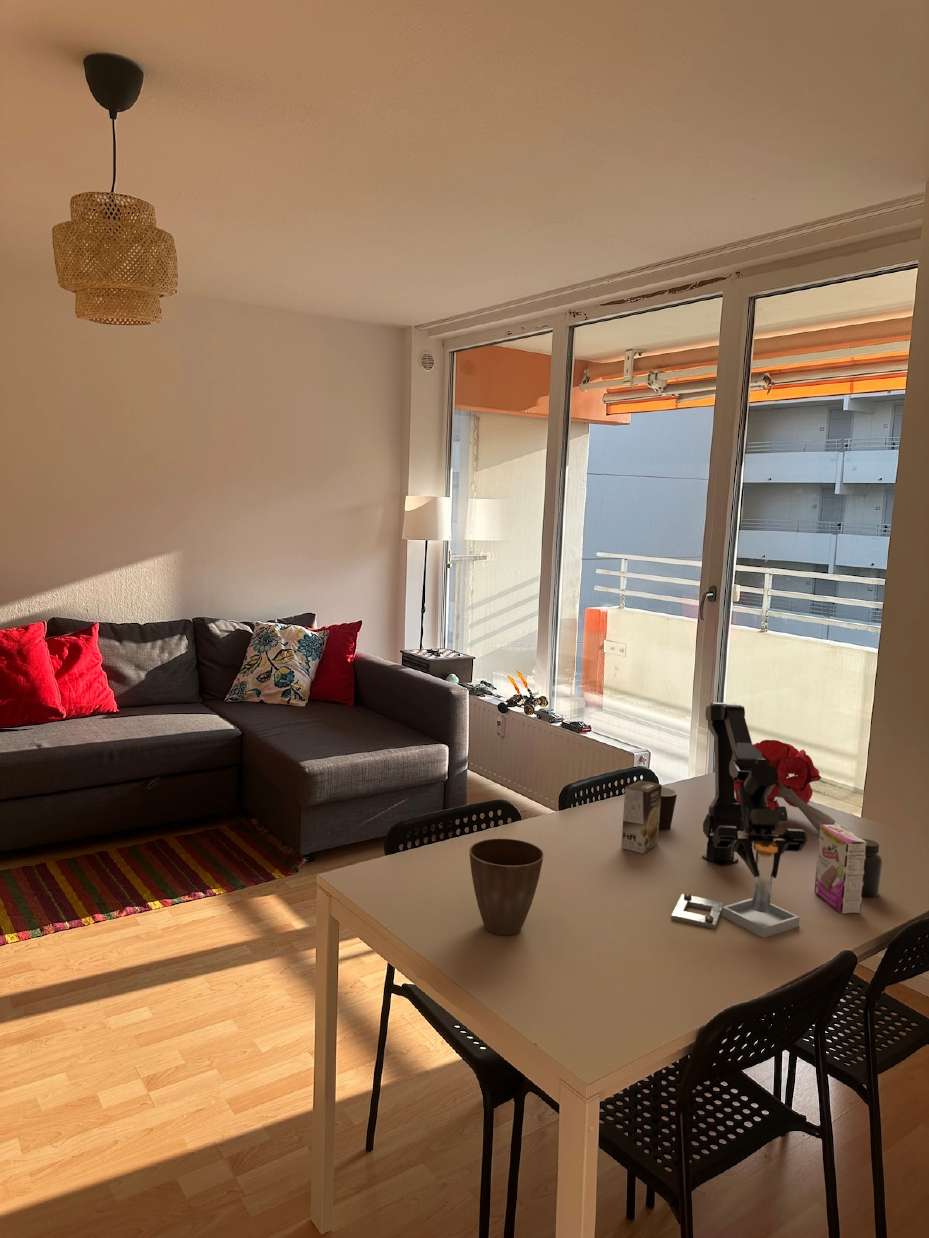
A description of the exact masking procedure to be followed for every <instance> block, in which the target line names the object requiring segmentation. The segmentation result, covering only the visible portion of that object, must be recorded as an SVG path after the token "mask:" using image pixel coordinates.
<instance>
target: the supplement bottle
mask: <svg viewBox="0 0 929 1238" xmlns="http://www.w3.org/2000/svg"><path fill="white" fill-rule="evenodd" d="M861 839H862V840H864V841H866V842H867V847H866V858H865V869H864V880H863V891H862V898H869V899H871V898H872V899H873V898H876V897H877V896H878V895H879V892H880V886H881V885H880V884H881V875H882V869H883V868H882V867H883V859H882V857H881V856H880V854H879V852H880V844H879V842H877V841H876V840H873V839H869V838H861Z"/></svg>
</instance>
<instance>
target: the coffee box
mask: <svg viewBox="0 0 929 1238" xmlns="http://www.w3.org/2000/svg"><path fill="white" fill-rule="evenodd" d="M662 787H663V785H662V784H660V783H656V782H651V781H646V780H645V781H644V780H641V779H639V780H637V781H636V782H634V783H631V784H629V785H627V786H624V802H623V817H622V830H621V844H620V845H621V849H624V850H628V851H631V852H636V853H638V854H645V853H647V852H648V851H649V850H651V849H652V848H654V847H655V846H657V845H658V843H659V832H660V830H659V818H660V804H661V789H662Z"/></svg>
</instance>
